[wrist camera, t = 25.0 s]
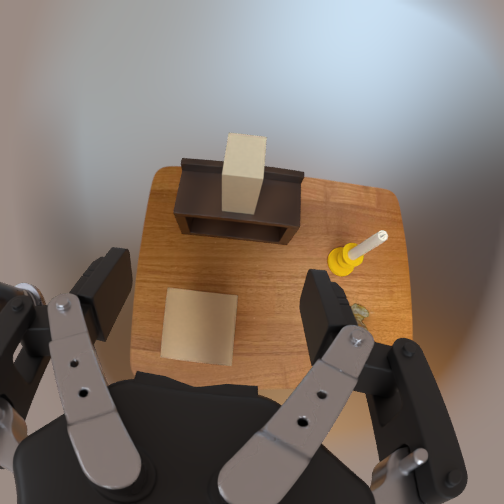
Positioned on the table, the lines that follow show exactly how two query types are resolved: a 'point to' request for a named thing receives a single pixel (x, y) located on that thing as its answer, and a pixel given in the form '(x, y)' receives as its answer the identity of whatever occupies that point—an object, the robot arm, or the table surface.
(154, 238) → the table surface
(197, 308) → the block
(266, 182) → the shelf
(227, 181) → the snack box
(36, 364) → the robot arm
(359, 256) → the candle
